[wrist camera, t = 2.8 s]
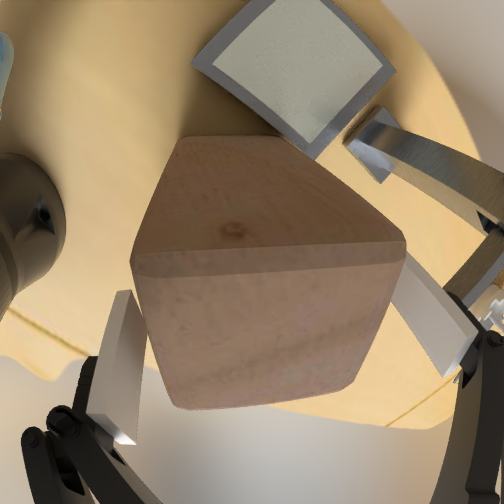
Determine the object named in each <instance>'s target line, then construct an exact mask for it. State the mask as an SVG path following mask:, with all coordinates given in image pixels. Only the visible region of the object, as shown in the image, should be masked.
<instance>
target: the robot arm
mask: <svg viewBox="0 0 504 504" xmlns="http://www.w3.org/2000/svg"><path fill="white" fill-rule="evenodd" d="M13 61H14V46H13V43H12V41H11V39H10V37H9V36H8V35H7V34H6V33H4V32H2V31H0V120H1V117H2V111H1V105H2V101H3V97H4V93H5V89H6V85H7V82H8V78H9V75H10V72H11V68H12V65H13ZM65 233H66V224H65V216H64V211H63V207H62V203H61V200H60V198H59V195H58V193H57V191H56V189H55V187H54V185H53V184H52V182H51V180H50V179H49V178H48V176H47V175H46V174H45V173H44V171H43V170H42V169H41V168H40V167H39V166H38V165H36V164H35V163H34V162H32V161H31V160H29V159H28V158H26V157H23V156H21V155H18V154H11V153H6V154H0V321H1V319H2V317H3V316H4V314H5V312H6V310H7V309H8V307H9V305H10V303H11V302H12V300H13V298H14V297H15V295H16V294H17V293H19V292H20V291H22V290H23V289H25V288H26V287H28V286H29V285H31V284H32V283H34V282H35V281H37V280H38V279H40V278H41V277H43V276H44V275H45V274H46V273H47V272H48V271H49V270H50V269H51V267H52V266H53V264H54V263H55V261H56V260H57V258H58V257H59V255H60V253H61V251H62V248H63V245H64V241H65ZM391 302H392V303H393V305H394V306H395V308H396V309H397V310H398V312H399V313H400V315H401V316H402V317H403V319H404V320H405V322H406V323H407V325H408V326H409V328H410V329H411V330H412V332H413V333H414V335H415V336H416V338H417V339H418V341H419V342H420V344H421V345H422V347H423V348H424V350H425V351H426V353H427V355H428V356H429V358H430V359H431V361H432V362H433V364H434V365H435V367H436V369H437V370H438V372H439V373H440V375H441V377H442V378H443V377H445V376H447V375H449V374H451V373H453V372H454V371H455V370H456V368H457V367H458V365H459V364H460V366H461V367H462V369H461V371H460V372H459V373H458V375H457V376H456V378H455V379H454V382H453V383H456V381H457V380H458V379H459V383H458V392H457V399H456V406H455V412H454V417H453V423H452V428H451V432H450V437H449V442H448V446H447V450H446V454H445V458H444V461H443V465H442V469H441V472H440V476H439V478H438V482H437V485H436V488H435V491H434V494H433V496H432V499H431V502H430V504H499V503H500V497H499V495H498V494H497V493H495V485H496V481H497V476H498V471H499V466H500V460H501V474H502V475H501V480H502V481H501V504H504V336H501V335H500V334H499V333H498V332H496V331H493V330H488V331H486V329H485V328H484V327H483V326H482V325H481V323H480V322H479V321H478V320H477V319H476V317H475V316H474V315H473V314H472V313H471V311H470V310H468V308H467V307H466V306H465V305H464V303H463V302H462V301H461V300H460V299H459V298H458V297H457V296H456V295H454V294H453V293H451V292H450V291H447V292H445V291H444V290H443V289H442V288H441V286H440V285H439V284H438V283H437V282H436V281H435V280H434V279H433V278H432V277H431V276H430V274H429V273H428V272H427V271H426V270H425V269H424V268H423V267H422V266H421V265H420V264H419V263H418V262H417V261H416V260H415V259H414V258H413V257H412V256H411V255H410V254H409V253H408V252H407V251H406V260H405V263H404V266H403V269H402V271H401V274H400V277H399V280H398V282H397V285H396V288H395V290H394V293H393V296H392V298H391ZM147 334H148V332H147V329H146V325H145V322H144V319H143V317H142V314H141V312H140V310H139V307H138V305H137V303H136V300H135V298H134V295H133V293H132V290H131V289H130V290H123V291H117V293H116V296H115V299H114V302H113V305H112V309H111V312H110V315H109V319H108V322H107V325H106V329H105V333H104V336H103V340H102V344H101V347H100V351H99V355H98V356H89V357H88V358H87V360H86V361H85V363H84V364H83V366H82V369H81V373H80V378H79V381H78V386H77V389H76V393H75V397H74V402H73V407H72V409H71V408H70V407H67V406H65V405H59V406H57V407H54V408H53V409H52V410H51V411H50V412H49V414H48V416H47V420H46V425H47V429H48V430H49V431H45V432H43V431H42V430H40V429H39V428H37V427H29V428H27V429H26V430H25V431H24V433H23V434H22V437H21V446H22V453H23V458H24V463H25V468H26V473H27V477H28V481H29V485H30V489H31V492H32V496H33V499H34V503H35V504H95V502H94V500H93V498H92V495H91V493H90V490H91V492H92V493H93V494H94V496H95V497H96V499H97V500H98V502H99V503H100V504H163V503H162V502H161V501H160V500H159V499H158V498H157V497H156V496H155V495H154V494H153V493H152V492H151V491H150V490H149V488H148V487H147V486H146V485H145V484H144V483H143V482H142V481H141V479H140V478H139V477H138V476H137V475H136V474H135V472H134V471H133V470H132V469H131V468H130V466H129V465H128V464H127V463H126V461H125V460H124V459H123V457H122V456H121V455H120V454H119V452H118V451H117V450H116V448H114V447H113V442H114V439H115V440H116V441H117V442H118V443H120V444H135V445H136V444H137V430H138V414H139V402H140V392H141V382H142V373H143V364H144V356H145V348H146V341H147ZM88 487H89V488H88ZM89 489H90V490H89Z"/></svg>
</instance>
